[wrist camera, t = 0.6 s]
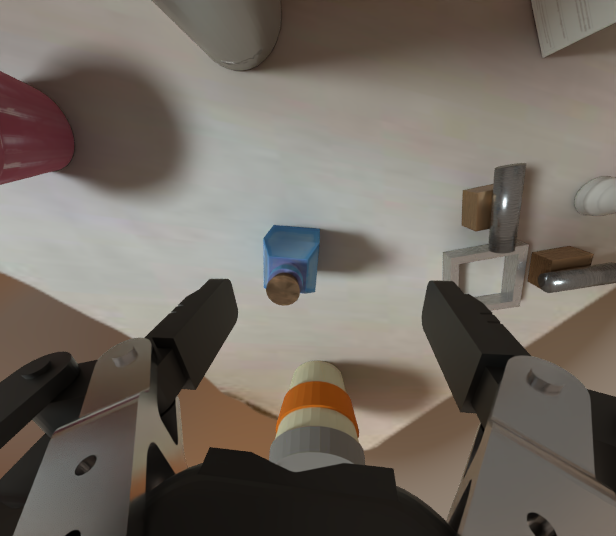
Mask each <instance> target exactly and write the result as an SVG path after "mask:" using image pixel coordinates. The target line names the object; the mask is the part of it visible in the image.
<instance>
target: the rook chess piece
mask: <svg viewBox="0 0 616 536" xmlns="http://www.w3.org/2000/svg"><path fill="white" fill-rule="evenodd" d="M574 205H575V207H576V209H577V211H578V212H579V213H581V214H583V215H592V216H604V215H607V214H613V213H616V177H610V176H601V177H599V178H596V179H593V180H591V181H590V182H588V183H587V184H585V185H584V186H582V187H581V189H580V190H579V191H578V192H577V194H576V197H575V199H574Z"/></svg>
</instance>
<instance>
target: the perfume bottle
mask: <svg viewBox="0 0 616 536" xmlns="http://www.w3.org/2000/svg"><path fill="white" fill-rule="evenodd" d="M263 242H264V288H265V289H266V292H267V295H268V297H269V299H270V300H271V301H272V302H274V303H276V304H278V305H282V306H283V305H290V304H293V303H294V302H295V301H296V300H297V299H298V298H299V295H300V293H304V294H306V293H312V292H315V287H316V276H317V265H318V254H319V244H320V229H316V228H303V227H291V226H278V225H273V227H272V228H271V229H270V231H269V232H268V233H267V234H266V236H265V237H264V238H263Z"/></svg>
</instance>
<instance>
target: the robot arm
mask: <svg viewBox="0 0 616 536" xmlns="http://www.w3.org/2000/svg"><path fill="white" fill-rule="evenodd" d="M152 1H153V2H154V3H155V4H156V5H157V6H158V7H159V8H160V9H161V10H162V11H163V12H164V13H165V14H166V15H167V16H168V17H169V18H170V19H171V20H172V21H173V22H174V23H175V24H176V25H177V26H178V27H179V28H180V29H181V30H182V31H184V32H185V33H186V34H187V35H188V36H189V37H190V38H191V39H192V40H193V41H194V42H195V43H196V44H197V45H198V46H199V47H200V48H201V49H202V50H203V51H204V52H205V53H206V54H207V55H208V56H209V57H210V58H211V59H212V60H213V61H215V62H216V63H218V64H219V65H221V66H223V67H225V68H228V69H231V70H238V71H242V70H248V69H251V68H253V67H255V66H257V65H259V64H260V63H261V62H262V61H264V60H265V59H266V58H267V56H268V55H269V54H270V52H271V51H272V49H273V47H274V45H275V43H276V41H277V38H278V34H279V31H280V24H281V1H280V0H152ZM237 318H238V308H237V304H236V300H235V296H234V292H233V288H232V284H231V281H230V280H229V279H209V280H208V281H207V282H206V283H205V284H204V285H203V286H202V287H201V288H200V289H199V290H197V291H196V292H194V293H192V294H191V295H189V296H187V297H186V298H185V299H184V300H183V301H182V302H181V303H180V304H179V305H178V307H176V308H175V309H174V310H172V311H171V313H169V314H168V315H167V316H166V317H165V318H164V319H163V320H162V321H161V322H160V323H159V324H158V325H157V326H156V327H155V328H154V329H153V330H152V331H151V332H150V333H149V334H148V335H147V336H146V337H145V338H134V339H130V340H127V341H124V342H122V343H120V344H117V345H116V346H114V347H112V348H111V349H109V350H108V351H107V352H105V353H104V354H103V355H102V356H101V357H100V358H99V359H98V360H94V361H89V362H85V363H79V364H77V362H76V361H75V360H74V358H73V357H72V355H71V354H70V353H68V352H56V353H52V354H48V355H45V356H43V357H40V358H38V359H36V360H34V361H32V362H30V363H28V364H26V365H24V366H23V367H21V368H20V369H18V370H17V371H16V372H14V373H13V374H11V375H10V376H8V377H7V378H6V379H4V380H3V381H2V382H0V449H1V448H2V447H3V446H4V445H5V444H6V443H7V442H8V441H9V440H10V439H11V438H12V437H14V436H15V435H16V434H17V433H18V432H19V431H20V430H21V429H22V428H23V427H24V426H26V424H28V422H30V421H31V420H33V421H34V422H35V423H36V424H37V425H38V426H39V427H40V428H41V429H42V430H43V431H44V432H45V434H44V435H43V436H42V437H41V438H40V439H39V440H38V441H37V443H35V444H34V445H33V446H32V447H31V448H30V450H29V451H28V452H27V453H26V454H25V455H24V456H23V457H22V458H21V459H20V460H19V461H18V462H17V463H16V464H15V465H14V466H13V467H12V468H11V469H10V470H9V471H8V472H7V473H6V474H5V475H4V476H3V477H2V478H1V479H0V536H616V397H614V396H611V395H607V394H603V393H599V392H596V391H592V390H588V389H586V388H585V386H584V385H583V384H582V383H581V382H580V381H579V380H578V379H577V378H576V377H575V376H573V375H572V374H571V373H569V372H568V371H566V370H565V369H563V368H561V367H559V366H557V365H555V364H553V363H551V362H549V361H546V360H543V359H540V358H536V357H532V356H531V355H530V354H529V353H528V352H527V351H526V350H525V349H524V348H523V346H522V345H521V344H520V343H519V342H518V341H517V340H516V339H515V338H514V336H513V335H512V334H511V333H510V332H509V331H508V330H507V329H506V328H505V327H504V325H503V324H500V321H499V320H498V319H497V318H496V317H495V315H492V312H491V311H490V310H489V309H488V308H487V307H486V306H485V304H484V303H483V302H481V301H479V300H478V299H476V298H474V297H473V296H471V295H469V294H464V293H463V292H462V291H461V290H460V288H459V287H458V286H457V285H456V284H455V282H453V281H429V283H428V285H427V290H426V295H425V301H424V306H423V311H422V326H423V329H424V332H425V334H426V336H427V339H428V341H429V343H430V345H431V348H432V350H433V352H434V354H435V357H436V359H437V361H438V363H439V365H440V368H441V370H442V372H443V374H444V377H445V379H446V381H447V383H448V386H449V388H450V390H451V392H452V395H453V397H454V399H455V401H456V404H457V405H458V408H459V410H460V412H466V413H476V414H477V416H478V418H479V420H480V425H479V427H478V429H477V433H476V436H475V439H474V442H473V445H472V448H471V451H470V454H469V457H468V460H467V463H466V466H465V469H464V472H463V476H462V479H461V482H460V485H459V487H458V490H457V493H456V495H455V498H454V500H453V503H452V506H451V508H450V511H449V514H448V517H447V520H446V521H445V520H444V519H443V518H442V517H441V516H440V515H439V514H438V513H437V512H435V511H434V510H433V509H432V508H431V507H430V506H428V505H427V504H426V503H424V502H423V501H422V500H421V499H419V498H418V497H416V496H415V495H413V494H411V493H410V492H408V491H406V490H405V489H402V488H400V487H398V486H396V482H395V476H394V470H393V469H392V468H385V467H376V466H367V465H359V464H350V463H341V464H336V465H331V466H326V467H321V468H316V469H311V470H306V471H301V472H292V471H289V470H287V469H285V468H283V467H281V466H279V465H277V464H275V463H273V462H271V461H269V460H267V459H264V458H262V457H260V456H258V455H256V454H254V453H252V452H246V451H238V450H229V449H220V448H211V447H210V448H209V450H208V453H207V455H206V457H205V459H204V462H203V463H201V464H198V465H196V466H192V467H189V468H188V466H187V463H186V459H185V455H184V449H183V436H182V425H181V413H180V402H179V399H178V396H177V395H178V394H179V392H180V391H181V389H190V390H196V388H197V387H198V385H199V383H200V382H201V380H202V378H203V377H204V375H205V373H206V372H207V370H208V368H209V367H210V365H211V363H212V362H213V360H214V358H215V357H216V355H217V353H218V352H219V350H220V348H221V347H222V345H223V343H224V342H225V340H226V338H227V337H228V335H229V333H230V332H231V330H232V328H233V327H234V325H235V323H236V321H237Z"/></svg>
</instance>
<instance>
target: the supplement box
mask: <svg viewBox="0 0 616 536" xmlns="http://www.w3.org/2000/svg"><path fill="white" fill-rule="evenodd" d="M531 3H532V8H533V13H534V18H535V23H536V27H537V32H538V38H539V43H540V47H541V53H542V57H543V58H544V57H546V56H548V55H550V54H553V53H555V52H557V51H559V50H561V49H563V48H565V47H567V46H569V45H571V44H573V43H575V42H577V41H579V40H581V39H583V38H585V37H587V36H589V35H591V34H593V33H596V32H598V31H600V30H602V29H604V28H606V27H608V26H610V25H612V24H614V23H616V0H531Z"/></svg>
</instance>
